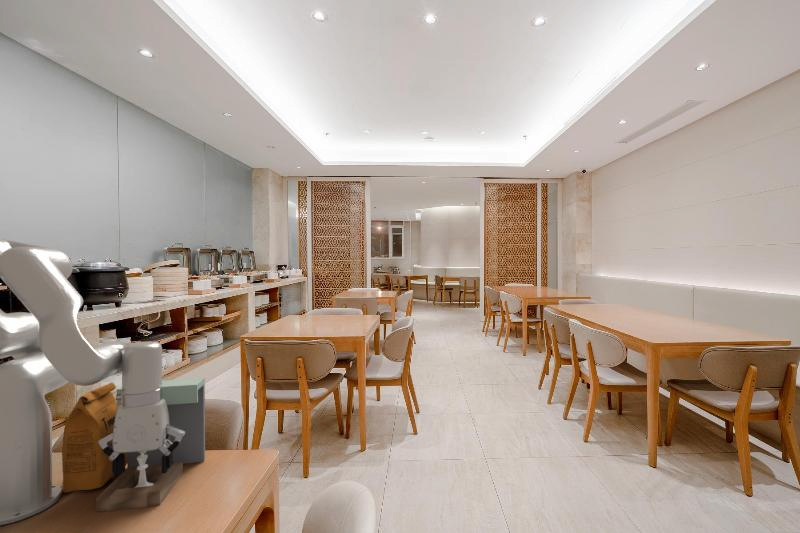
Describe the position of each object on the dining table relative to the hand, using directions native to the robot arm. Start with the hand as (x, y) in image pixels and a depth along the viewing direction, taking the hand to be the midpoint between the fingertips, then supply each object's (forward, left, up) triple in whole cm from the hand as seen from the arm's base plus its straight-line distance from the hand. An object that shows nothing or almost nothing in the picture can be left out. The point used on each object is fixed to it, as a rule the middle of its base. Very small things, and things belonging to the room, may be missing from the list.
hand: (143, 472), depth 83 cm
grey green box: (0, +10, -4) cm, 11 cm away
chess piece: (0, 0, -4) cm, 5 cm away
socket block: (0, 0, -4) cm, 4 cm away
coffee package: (-13, +8, -4) cm, 16 cm away
